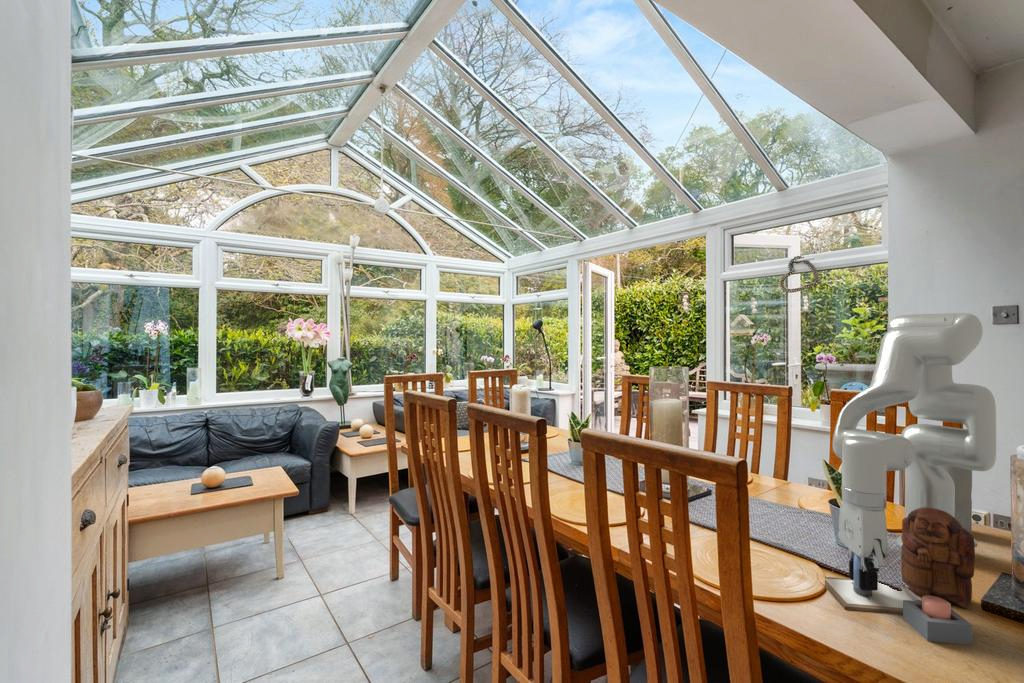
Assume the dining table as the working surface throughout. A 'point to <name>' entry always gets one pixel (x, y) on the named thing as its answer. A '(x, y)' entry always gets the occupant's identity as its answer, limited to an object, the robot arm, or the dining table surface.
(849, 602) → the clipboard
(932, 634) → the button housing
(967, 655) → the dining table surface
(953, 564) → the wooden figurine
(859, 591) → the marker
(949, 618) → the button
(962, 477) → the thermos bottle
